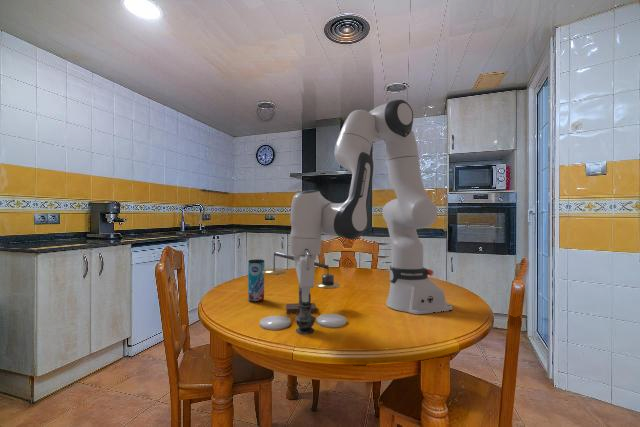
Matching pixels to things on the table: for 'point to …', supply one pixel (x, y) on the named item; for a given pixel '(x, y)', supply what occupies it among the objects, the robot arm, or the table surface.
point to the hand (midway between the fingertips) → (303, 296)
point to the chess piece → (305, 318)
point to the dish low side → (331, 320)
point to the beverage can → (255, 280)
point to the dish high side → (275, 322)
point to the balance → (294, 307)
